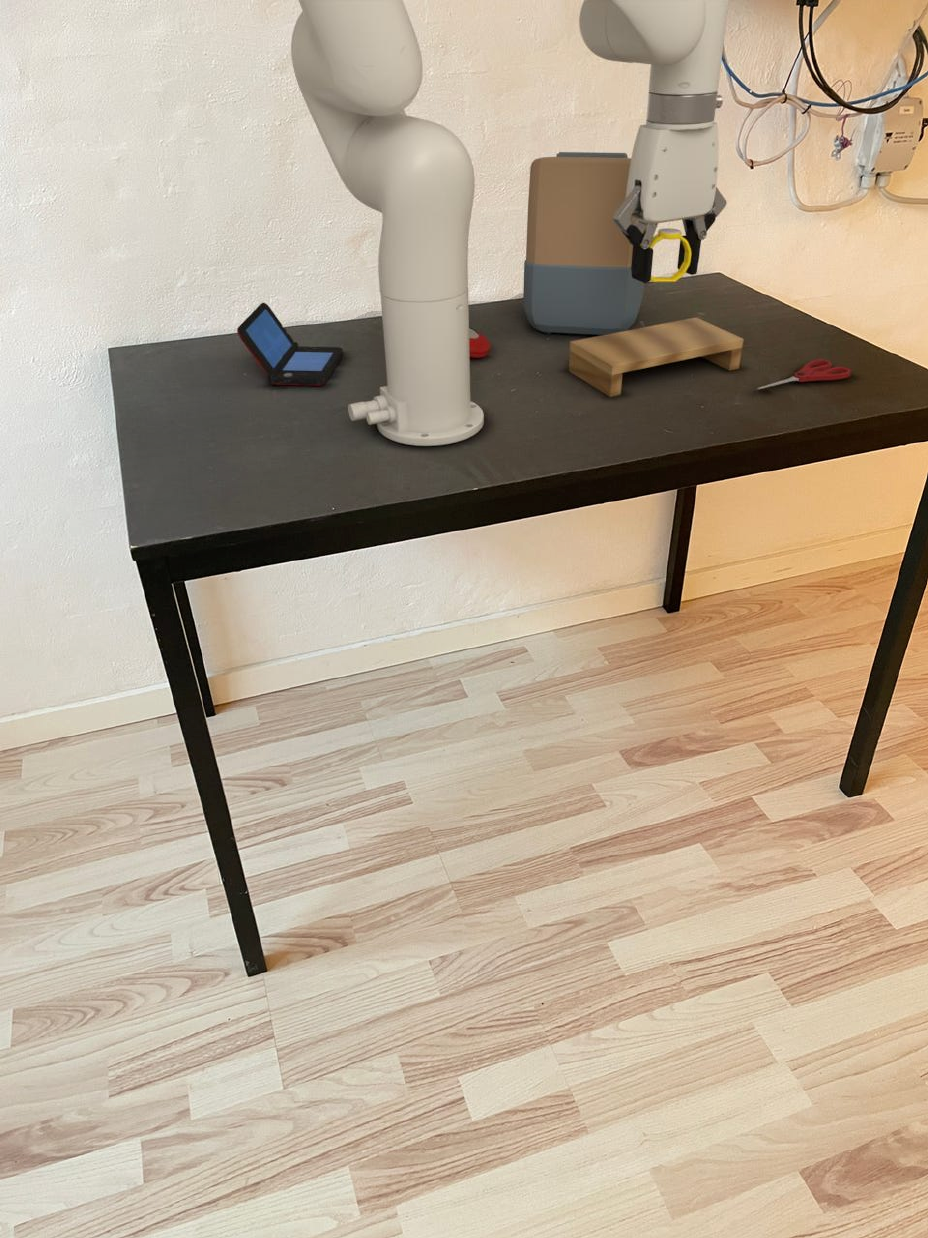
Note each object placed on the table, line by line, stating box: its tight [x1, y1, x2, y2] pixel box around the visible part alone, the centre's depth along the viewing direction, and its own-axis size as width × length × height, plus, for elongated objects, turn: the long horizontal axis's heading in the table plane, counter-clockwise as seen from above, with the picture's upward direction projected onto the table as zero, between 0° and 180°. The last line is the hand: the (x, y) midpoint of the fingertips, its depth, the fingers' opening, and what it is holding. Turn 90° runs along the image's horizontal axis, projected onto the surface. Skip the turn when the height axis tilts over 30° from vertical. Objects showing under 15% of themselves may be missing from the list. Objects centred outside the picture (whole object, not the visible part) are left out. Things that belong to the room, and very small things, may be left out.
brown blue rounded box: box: [522, 151, 647, 336], centre depth 127 cm, size 17×17×23 cm
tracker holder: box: [469, 326, 491, 359], centre depth 125 cm, size 12×4×10 cm
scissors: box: [756, 358, 852, 390], centre depth 113 cm, size 5×14×1 cm, turn 119°
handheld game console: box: [236, 302, 344, 387], centre depth 118 cm, size 12×11×7 cm
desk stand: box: [568, 317, 744, 398], centre depth 116 cm, size 20×10×4 cm, turn 115°
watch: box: [649, 227, 692, 283], centre depth 109 cm, size 6×3×6 cm, turn 100°
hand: (664, 274), depth 110 cm, fingers closed on watch, 6 cm apart
